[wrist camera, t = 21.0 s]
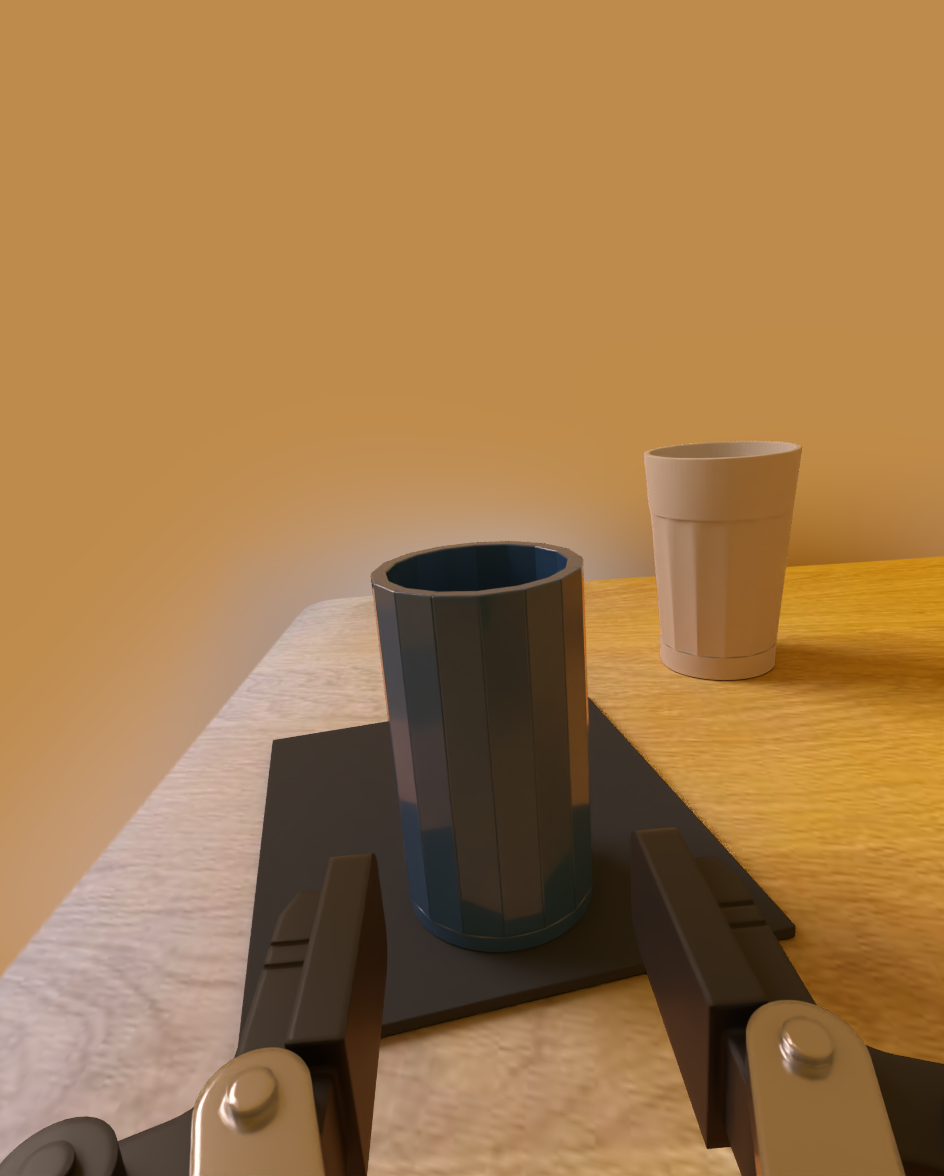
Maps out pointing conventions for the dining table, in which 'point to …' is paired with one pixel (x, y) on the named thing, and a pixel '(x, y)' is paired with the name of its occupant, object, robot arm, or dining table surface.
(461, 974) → the mat
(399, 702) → the tumbler
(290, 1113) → the robot arm
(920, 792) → the dining table surface
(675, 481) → the cup
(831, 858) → the dining table surface
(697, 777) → the dining table surface
